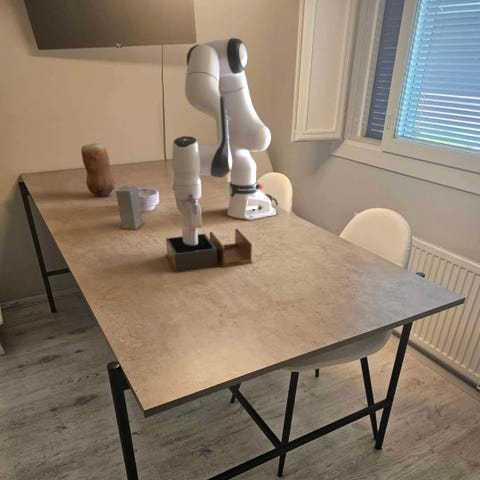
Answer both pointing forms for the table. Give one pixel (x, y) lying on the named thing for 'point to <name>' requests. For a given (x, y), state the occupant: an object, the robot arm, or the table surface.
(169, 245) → the dark grey open box
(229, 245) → the wooden shelf
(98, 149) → the butternut squash
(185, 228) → the eye dropper bottle
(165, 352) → the table surface
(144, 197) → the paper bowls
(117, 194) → the cosmetic box
